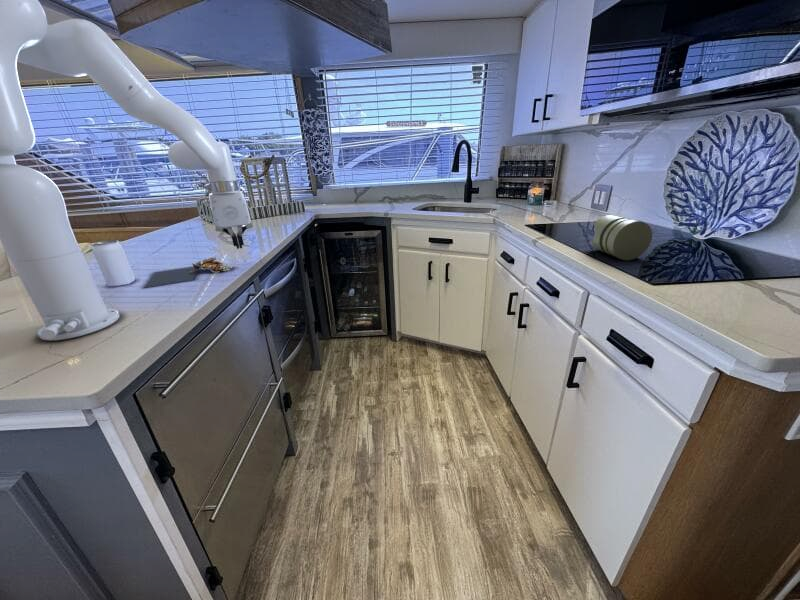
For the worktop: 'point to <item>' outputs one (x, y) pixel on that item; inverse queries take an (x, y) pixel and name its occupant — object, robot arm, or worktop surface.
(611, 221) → the piston
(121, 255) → the can
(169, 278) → the slate mat
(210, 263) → the pastry
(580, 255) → the worktop surface
